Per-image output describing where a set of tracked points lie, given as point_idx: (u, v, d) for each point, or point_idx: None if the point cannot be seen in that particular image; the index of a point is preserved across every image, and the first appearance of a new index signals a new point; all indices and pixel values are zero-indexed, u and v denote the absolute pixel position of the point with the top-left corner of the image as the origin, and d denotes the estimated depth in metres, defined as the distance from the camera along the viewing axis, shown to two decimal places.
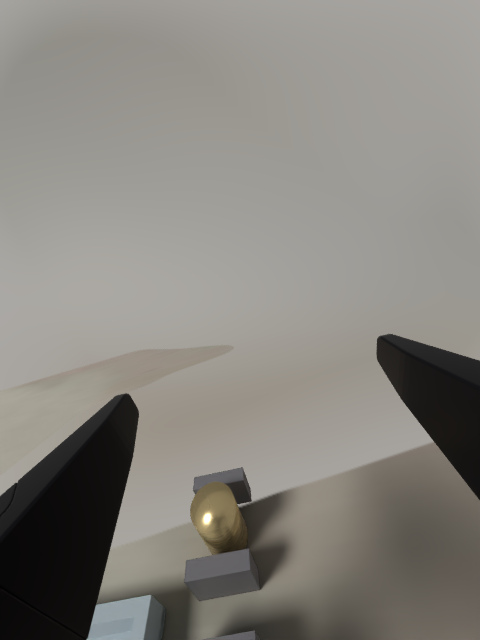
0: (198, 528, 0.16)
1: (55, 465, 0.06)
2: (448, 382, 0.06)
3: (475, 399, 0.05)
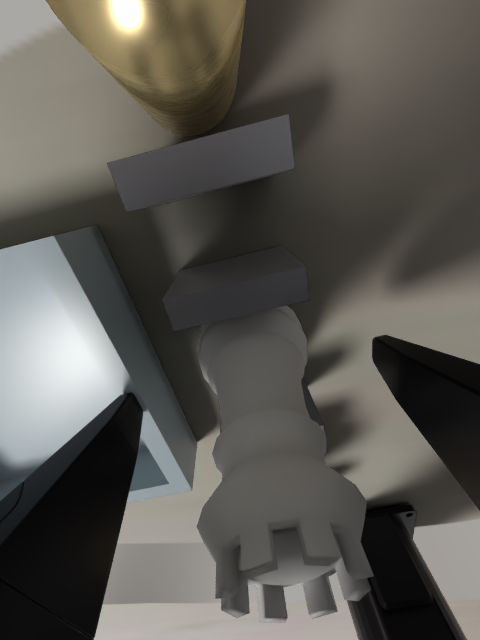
0: (112, 63, 0.04)
1: (61, 464, 0.06)
2: (441, 383, 0.06)
3: (467, 401, 0.05)
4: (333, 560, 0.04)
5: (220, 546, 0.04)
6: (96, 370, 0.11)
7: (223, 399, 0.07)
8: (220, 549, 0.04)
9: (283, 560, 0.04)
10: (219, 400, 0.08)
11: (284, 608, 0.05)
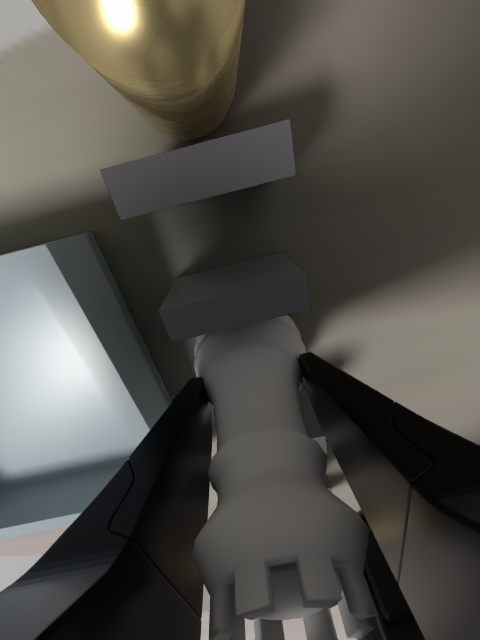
0: (103, 66, 0.04)
1: (163, 442, 0.06)
2: (334, 406, 0.06)
3: (348, 426, 0.06)
4: (335, 602, 0.03)
5: (214, 582, 0.04)
6: (92, 379, 0.11)
7: (219, 414, 0.07)
8: (214, 585, 0.04)
9: (281, 596, 0.04)
10: (215, 414, 0.07)
11: None
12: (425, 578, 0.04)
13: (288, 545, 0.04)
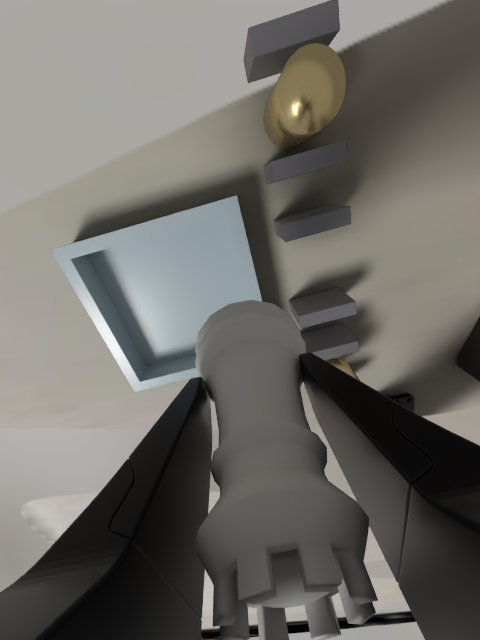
0: (297, 128, 0.12)
1: (163, 442, 0.06)
2: (334, 406, 0.06)
3: (348, 426, 0.06)
4: (335, 586, 0.03)
5: (217, 570, 0.04)
6: (221, 282, 0.19)
7: (220, 410, 0.07)
8: (217, 573, 0.04)
9: (283, 583, 0.04)
10: (217, 410, 0.07)
11: (286, 632, 0.04)
12: (425, 578, 0.04)
13: (289, 532, 0.04)
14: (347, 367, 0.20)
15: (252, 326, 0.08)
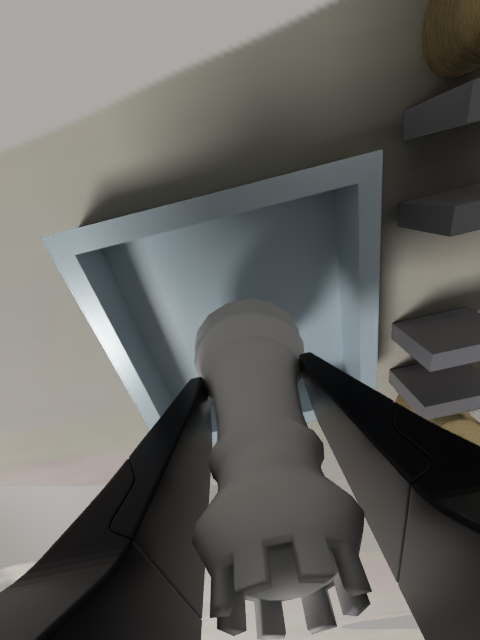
0: None
1: (163, 442, 0.06)
2: (334, 407, 0.06)
3: (348, 426, 0.06)
4: (328, 577, 0.04)
5: (214, 563, 0.04)
6: (305, 297, 0.12)
7: (219, 407, 0.07)
8: (214, 566, 0.04)
9: (279, 576, 0.04)
10: (215, 408, 0.08)
11: (282, 624, 0.04)
12: (425, 578, 0.04)
13: (284, 525, 0.04)
14: None
15: (250, 325, 0.09)
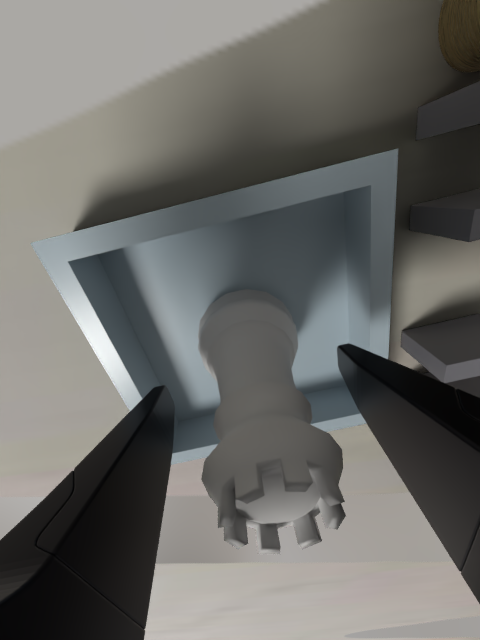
0: None
1: (110, 453, 0.06)
2: (389, 395, 0.06)
3: (410, 413, 0.05)
4: (308, 486, 0.05)
5: (220, 488, 0.05)
6: (311, 304, 0.12)
7: (221, 381, 0.08)
8: (220, 490, 0.05)
9: (272, 496, 0.05)
10: (218, 383, 0.09)
11: (278, 542, 0.06)
12: None
13: (273, 453, 0.05)
14: None
15: (246, 311, 0.10)
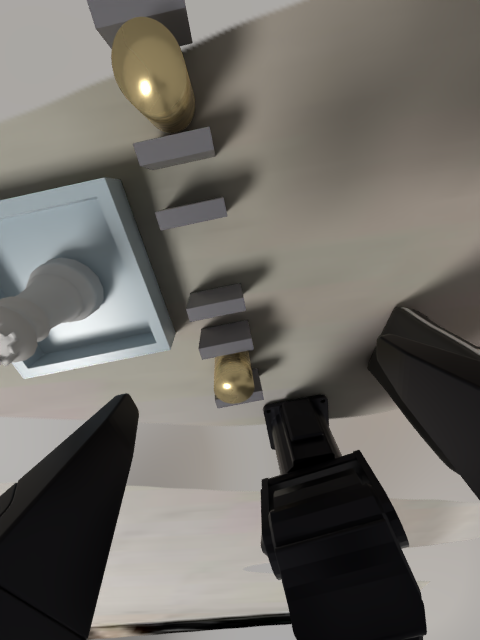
0: (140, 108, 0.11)
1: (55, 465, 0.06)
2: (448, 382, 0.06)
3: (475, 399, 0.05)
4: None
5: None
6: (114, 270, 0.18)
7: None
8: None
9: None
10: None
11: None
12: None
13: None
14: (242, 364, 0.19)
15: (48, 268, 0.16)
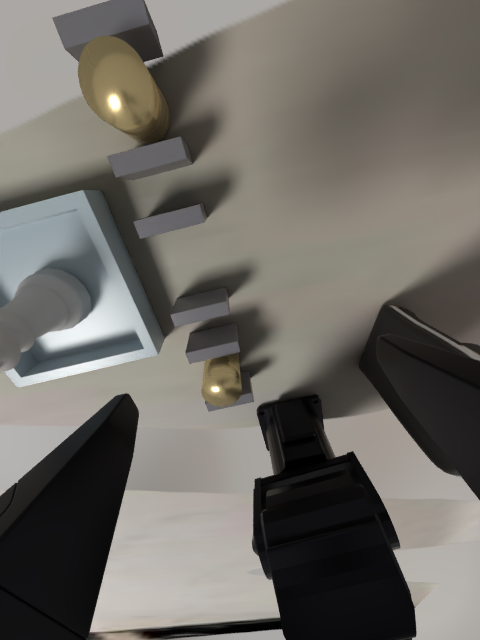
0: (109, 122, 0.12)
1: (55, 465, 0.06)
2: (448, 382, 0.06)
3: (475, 399, 0.05)
4: None
5: None
6: (100, 279, 0.19)
7: None
8: None
9: None
10: None
11: None
12: None
13: None
14: (229, 367, 0.20)
15: (34, 279, 0.17)
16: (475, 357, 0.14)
